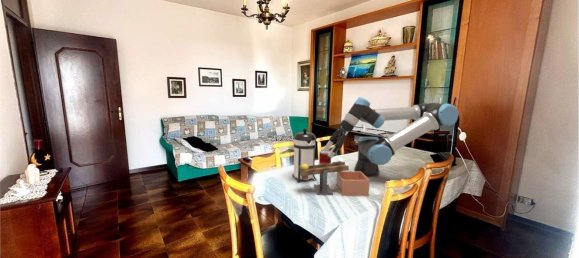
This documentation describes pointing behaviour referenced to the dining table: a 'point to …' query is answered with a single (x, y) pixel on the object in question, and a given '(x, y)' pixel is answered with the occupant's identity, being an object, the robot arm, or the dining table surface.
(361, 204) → the dining table surface
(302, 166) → the ball
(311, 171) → the tipping chute
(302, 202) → the dining table surface
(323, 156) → the canned food
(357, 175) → the brown cardboard box
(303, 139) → the coffee press
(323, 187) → the chute stand
